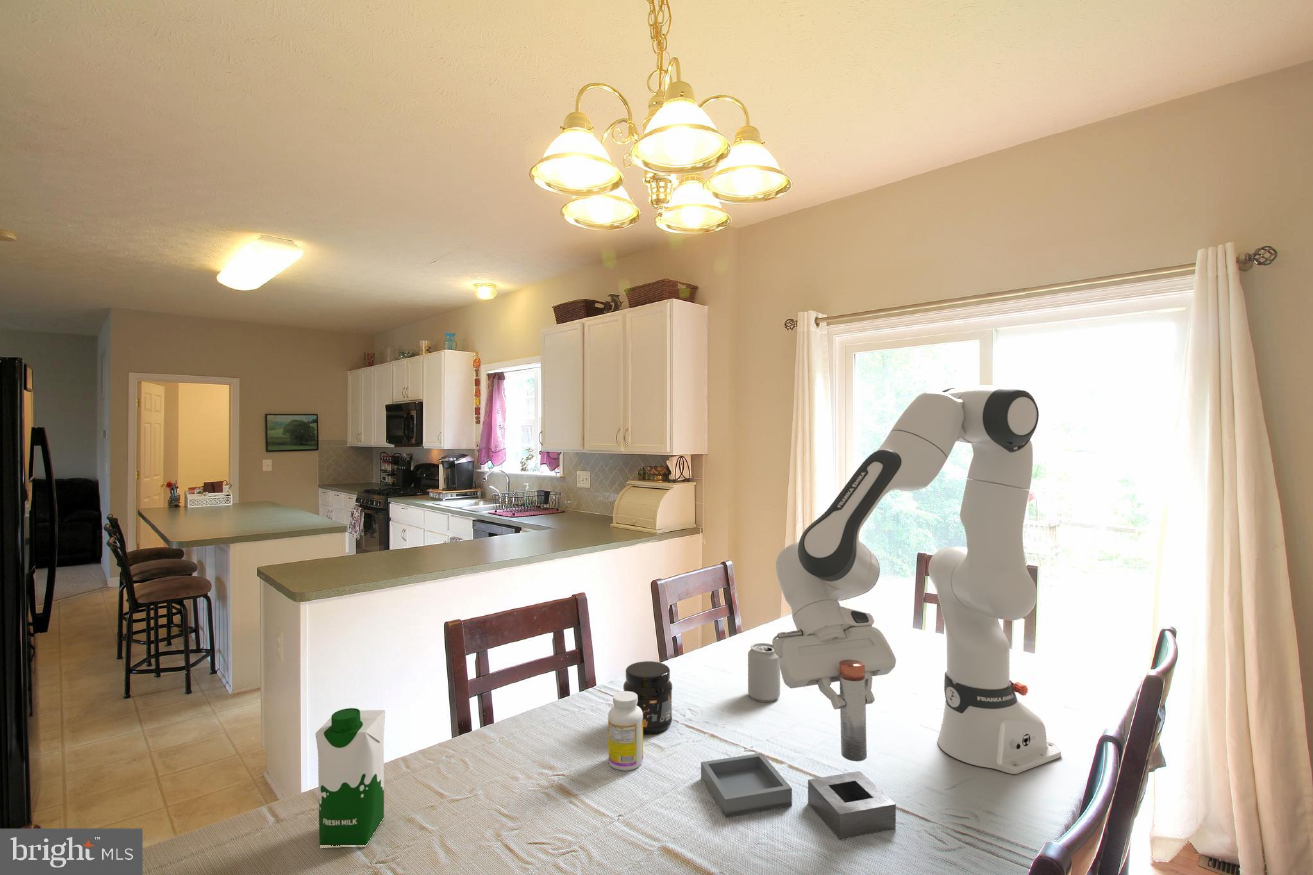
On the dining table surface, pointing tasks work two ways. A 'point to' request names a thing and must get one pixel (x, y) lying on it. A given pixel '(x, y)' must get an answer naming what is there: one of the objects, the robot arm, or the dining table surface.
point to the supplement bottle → (625, 732)
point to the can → (763, 673)
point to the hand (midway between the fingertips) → (855, 705)
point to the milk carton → (351, 776)
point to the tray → (745, 784)
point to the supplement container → (651, 693)
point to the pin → (853, 710)
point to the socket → (851, 805)
